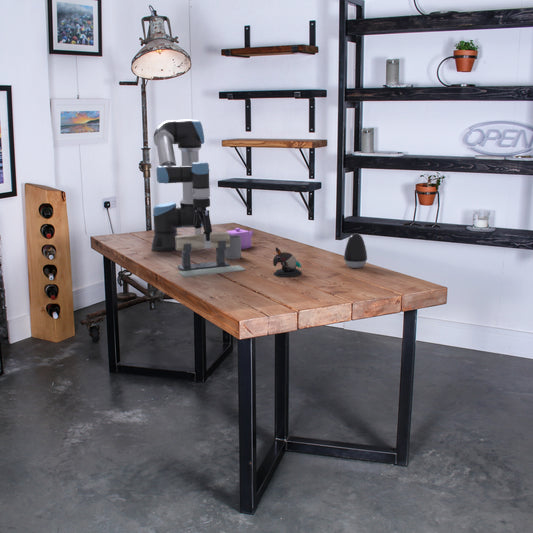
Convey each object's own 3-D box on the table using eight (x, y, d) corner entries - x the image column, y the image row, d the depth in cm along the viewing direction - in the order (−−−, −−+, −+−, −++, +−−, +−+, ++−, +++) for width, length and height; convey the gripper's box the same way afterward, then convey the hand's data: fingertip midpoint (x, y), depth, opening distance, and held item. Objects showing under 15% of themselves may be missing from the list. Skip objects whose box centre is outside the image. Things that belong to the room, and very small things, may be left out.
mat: (178, 272, 279) (178, 271, 279) (238, 266, 289) (238, 265, 289) (183, 276, 272) (183, 275, 272) (245, 270, 282) (245, 269, 282)
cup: (238, 259, 304) (238, 238, 302) (221, 258, 306) (221, 238, 303) (242, 255, 312) (242, 235, 310) (226, 255, 314) (225, 235, 312)
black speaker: (368, 265, 289) (369, 231, 286) (364, 270, 280) (365, 236, 276) (346, 263, 293) (347, 230, 289) (341, 268, 283) (342, 234, 280)
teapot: (248, 243, 341) (247, 224, 339) (258, 247, 333) (258, 227, 330) (218, 248, 331) (218, 228, 329) (229, 251, 323) (228, 231, 320)
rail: (175, 249, 284) (175, 236, 282) (227, 244, 293) (226, 231, 291) (178, 251, 280) (177, 237, 279) (229, 246, 289) (229, 233, 288)
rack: (177, 268, 288) (176, 241, 285) (224, 263, 296) (223, 237, 293) (182, 271, 281) (181, 245, 278) (229, 266, 289) (229, 240, 286)
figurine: (303, 276, 270) (303, 249, 268) (276, 278, 269) (274, 251, 266) (298, 270, 281) (297, 244, 279) (271, 272, 279) (270, 246, 277)
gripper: (185, 195, 291) (187, 241, 296) (201, 201, 269) (203, 251, 273) (201, 194, 294) (202, 239, 299) (218, 200, 271) (219, 249, 276)
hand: (203, 245), depth 286 cm, fingers open, 13 cm apart
